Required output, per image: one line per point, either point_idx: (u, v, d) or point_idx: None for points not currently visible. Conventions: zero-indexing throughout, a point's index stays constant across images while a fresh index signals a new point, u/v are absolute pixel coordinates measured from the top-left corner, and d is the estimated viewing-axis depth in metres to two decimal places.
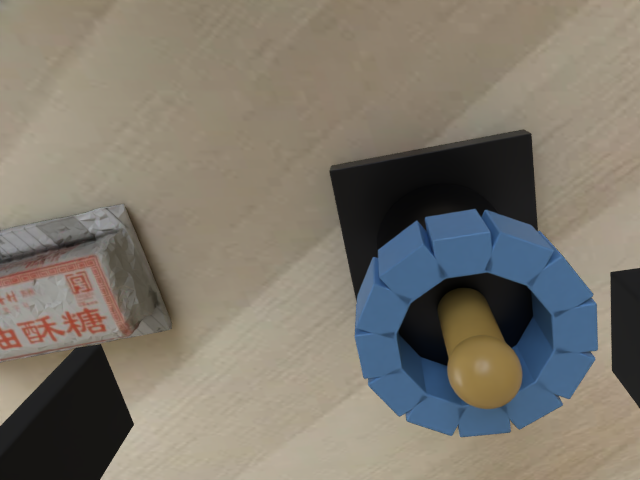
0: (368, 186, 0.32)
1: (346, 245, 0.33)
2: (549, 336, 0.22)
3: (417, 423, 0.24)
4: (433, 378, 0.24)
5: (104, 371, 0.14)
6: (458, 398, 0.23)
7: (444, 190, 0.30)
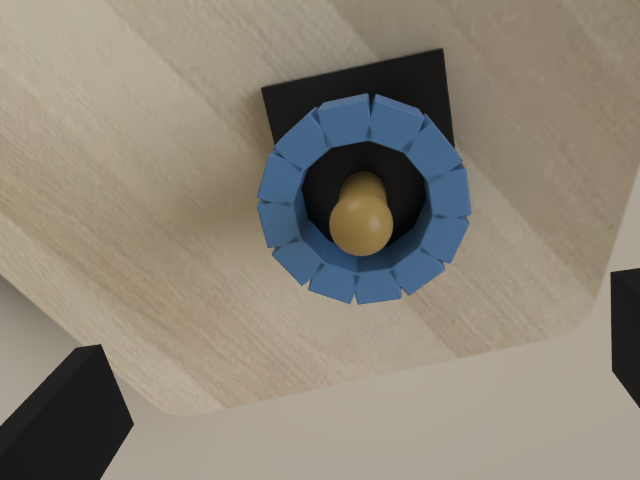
0: (425, 88, 0.33)
1: (364, 67, 0.33)
2: (364, 268, 0.26)
3: (268, 165, 0.24)
4: (304, 174, 0.25)
5: (104, 371, 0.14)
6: (294, 200, 0.25)
7: None
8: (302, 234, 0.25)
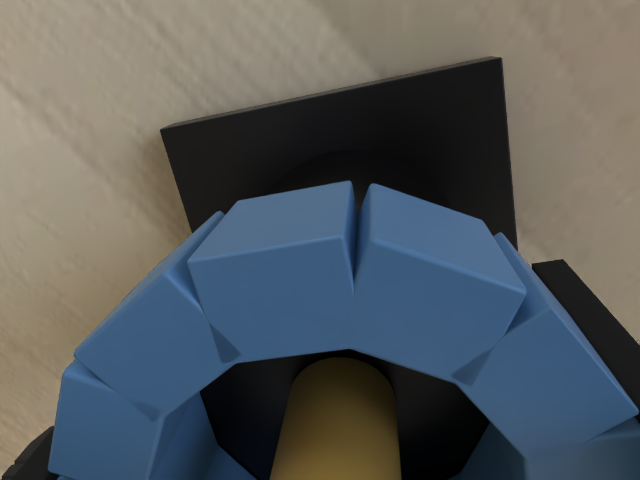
0: (465, 132, 0.17)
1: (349, 92, 0.17)
2: None
3: (63, 399, 0.08)
4: None
5: None
6: (156, 465, 0.09)
7: None
8: None
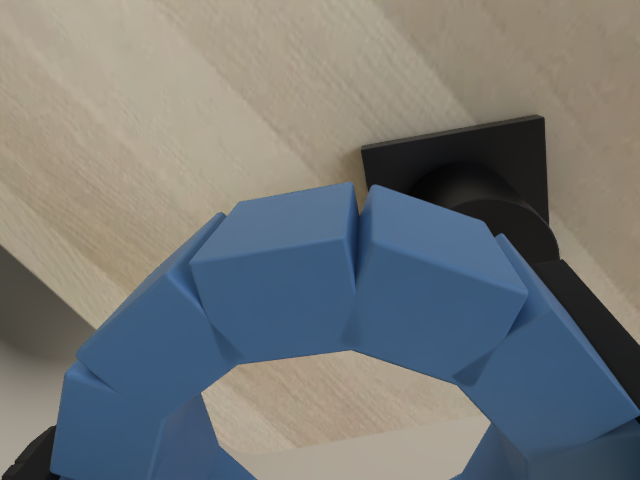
0: (523, 154, 0.34)
1: (465, 133, 0.34)
2: None
3: (65, 400, 0.08)
4: None
5: None
6: (157, 466, 0.09)
7: None
8: None
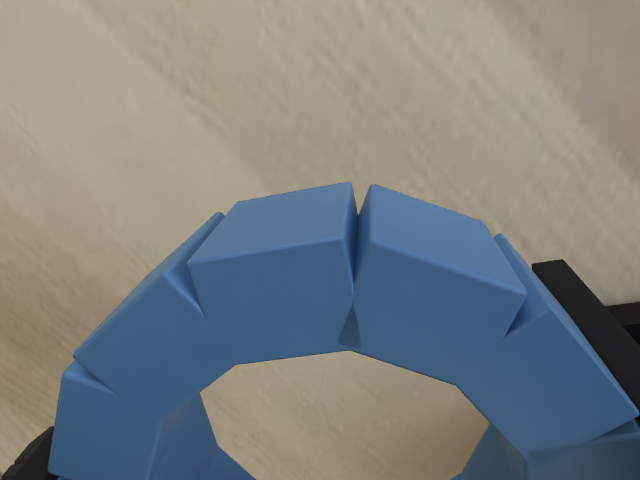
0: None
1: None
2: None
3: (63, 400, 0.08)
4: None
5: None
6: (156, 466, 0.09)
7: None
8: None
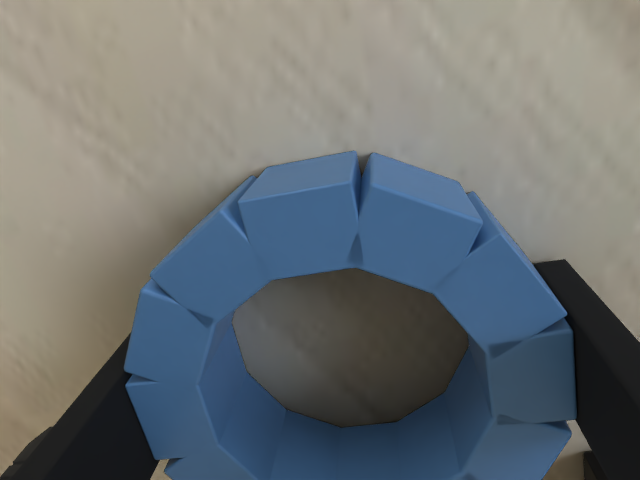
0: None
1: None
2: None
3: (140, 310, 0.11)
4: None
5: None
6: (204, 370, 0.12)
7: None
8: (223, 432, 0.13)
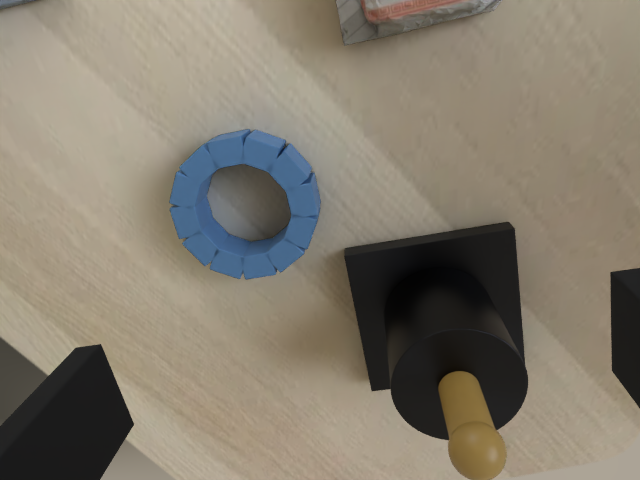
0: (496, 260, 0.36)
1: (441, 241, 0.36)
2: (249, 253, 0.36)
3: (175, 180, 0.34)
4: (204, 186, 0.36)
5: (104, 371, 0.14)
6: (196, 204, 0.35)
7: None
8: (203, 228, 0.36)
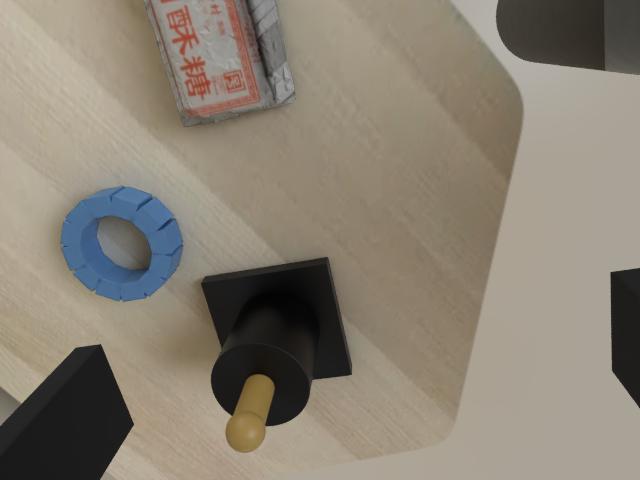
0: (316, 287, 0.46)
1: (272, 273, 0.46)
2: (125, 281, 0.47)
3: (63, 227, 0.45)
4: (89, 230, 0.46)
5: (104, 371, 0.14)
6: (82, 244, 0.46)
7: (318, 338, 0.46)
8: (88, 262, 0.46)
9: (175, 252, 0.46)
